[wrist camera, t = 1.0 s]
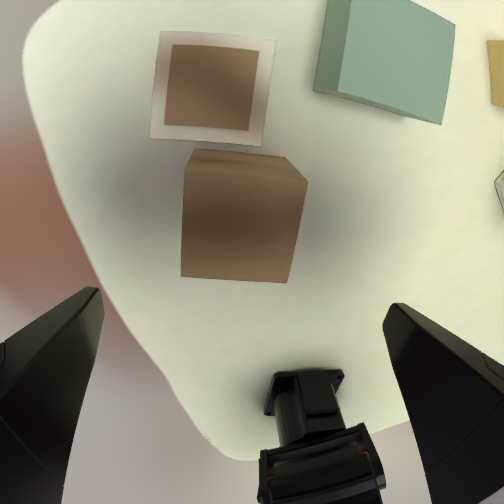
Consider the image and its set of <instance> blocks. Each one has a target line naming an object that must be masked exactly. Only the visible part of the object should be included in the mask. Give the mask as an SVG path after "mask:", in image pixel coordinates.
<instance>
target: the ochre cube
mask: <svg viewBox="0 0 504 504" xmlns="http://www.w3.org/2000/svg"><path fill="white" fill-rule="evenodd" d="M487 48H488V57H489V68H490V82H491V104H494V105H498V106H503V107H504V41H487Z"/></svg>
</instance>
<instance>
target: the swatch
mask: <svg viewBox="0 0 504 504" xmlns="http://www.w3.org/2000/svg"><path fill="white" fill-rule="evenodd" d="M275 45H276V40H270V39H264V38H257V37H249V36H240V35H231V34H219V33H204V32H175V31H160V38H159V45H158V52H157V60H156V68H155V77H154V87H153V97H152V109H151V122H150V138H151V139H176V140H194V141H208V142H221V143H232V144H242V145H251V146H260V147H261V142H262V135H263V128H264V121H265V114H266V107H267V100H268V93H269V86H270V79H271V72H272V65H273V58H274V51H275Z"/></svg>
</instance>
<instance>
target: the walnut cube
mask: <svg viewBox="0 0 504 504" xmlns="http://www.w3.org/2000/svg"><path fill="white" fill-rule="evenodd" d="M307 184H308V181H307V180H306V179H305V178H304V177H303V176H302V175H301V174H300V172H299V171H298V170H297V169H296V168H295V167H294V166H293V165H292V164H291V163H290V162H289V161H288V160H287V159H286V158H285V157H277V156H269V155H261V154H252V153H242V152H232V151H221V150H208V149H195V150H194V152H193V154H192V156H191V158H190V160H189V162H188V164H187V167H186V169H185V179H184V196H183V216H182V244H181V277H192V278H206V279H222V280H238V281H255V282H274V283H287V281H288V276H289V272H290V267H291V263H292V258H293V253H294V249H295V244H296V239H297V234H298V230H299V225H300V220H301V215H302V210H303V205H304V200H305V195H306V190H307Z"/></svg>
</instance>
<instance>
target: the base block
mask: <svg viewBox="0 0 504 504" xmlns="http://www.w3.org/2000/svg"><path fill="white" fill-rule="evenodd" d="M454 38H455V24H453V23H451V22H450V21H448V20H446V19H445V18H443V17H441V16H439V15H437V14H436V13H434V12H432V11H430V10H428V9H426V8H424V7H422V6H420V5H418V4H416V3H414V2H412V1H410V0H328V3H327V9H326V16H325V22H324V29H323V35H322V41H321V47H320V54H319V60H318V66H317V72H316V77H315V83H314V89H313V91H317V92H322V93H326V94H330V95H334V96H338V97H342V98H346V99H350V100H353V101H357V102H361V103H364V104H367V105H371V106H374V107H377V108H381V109H384V110H387V111H390V112H393V113H396V114H399V115H402V116H405V117H410V118H414V119H418V120H422V121H426V122H430V123H434V124H438V125H441V124H442V119H443V114H444V109H445V104H446V98H447V92H448V86H449V80H450V73H451V65H452V57H453V48H454Z"/></svg>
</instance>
